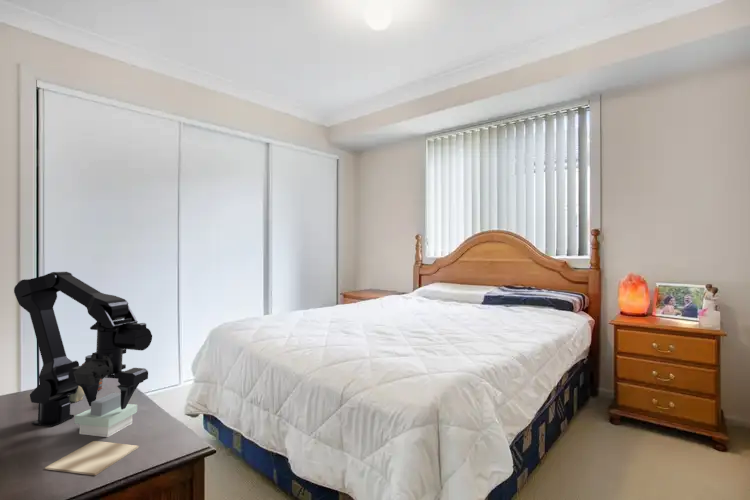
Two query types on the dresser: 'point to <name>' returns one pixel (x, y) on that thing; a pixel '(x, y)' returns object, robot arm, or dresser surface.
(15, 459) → the dresser surface
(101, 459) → the cork mat
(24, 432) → the dresser surface
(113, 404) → the lid
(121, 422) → the storage box
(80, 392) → the ghost figurine
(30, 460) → the dresser surface
